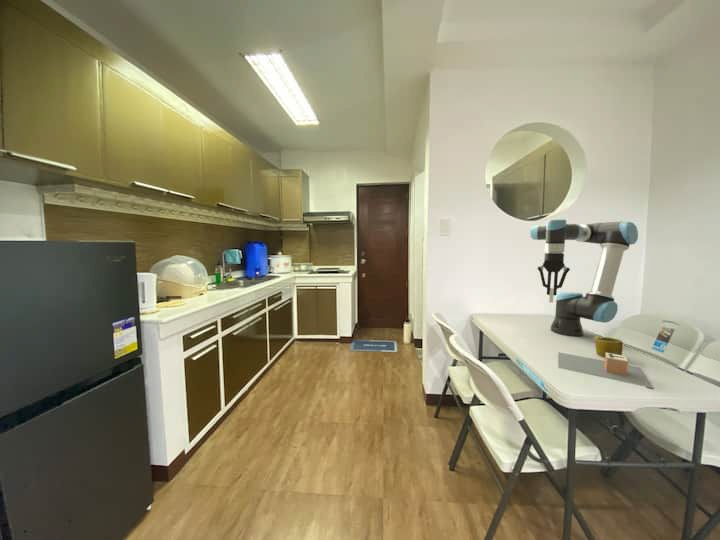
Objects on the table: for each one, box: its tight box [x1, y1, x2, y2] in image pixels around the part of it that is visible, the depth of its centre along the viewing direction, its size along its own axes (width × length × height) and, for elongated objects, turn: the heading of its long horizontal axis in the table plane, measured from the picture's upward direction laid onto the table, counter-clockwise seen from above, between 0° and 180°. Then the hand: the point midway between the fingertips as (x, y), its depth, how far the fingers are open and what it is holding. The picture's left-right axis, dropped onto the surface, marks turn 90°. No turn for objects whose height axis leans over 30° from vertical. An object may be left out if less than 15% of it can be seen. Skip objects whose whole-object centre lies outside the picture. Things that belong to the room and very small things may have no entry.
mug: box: [593, 336, 624, 358], centre depth 130 cm, size 12×10×10 cm
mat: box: [557, 351, 654, 390], centre depth 117 cm, size 20×28×1 cm
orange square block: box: [604, 353, 629, 376], centre depth 114 cm, size 6×6×6 cm
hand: (551, 301), depth 135 cm, fingers closed
